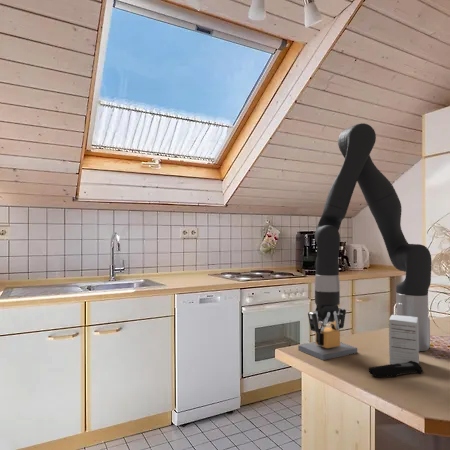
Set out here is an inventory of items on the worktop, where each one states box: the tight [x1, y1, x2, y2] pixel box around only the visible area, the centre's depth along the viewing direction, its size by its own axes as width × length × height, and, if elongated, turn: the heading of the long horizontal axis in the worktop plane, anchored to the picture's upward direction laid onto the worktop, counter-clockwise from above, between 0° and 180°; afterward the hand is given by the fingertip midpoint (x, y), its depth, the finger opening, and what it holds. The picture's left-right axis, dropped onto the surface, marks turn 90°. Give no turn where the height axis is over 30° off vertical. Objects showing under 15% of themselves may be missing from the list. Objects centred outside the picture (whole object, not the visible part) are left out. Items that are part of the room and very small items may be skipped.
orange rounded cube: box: [314, 326, 341, 348], centre depth 118 cm, size 5×5×5 cm
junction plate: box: [297, 341, 358, 361], centre depth 118 cm, size 14×11×4 cm
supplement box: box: [388, 314, 420, 365], centre depth 108 cm, size 7×7×13 cm
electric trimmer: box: [368, 361, 424, 378], centre depth 99 cm, size 4×16×3 cm, turn 106°
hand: (327, 343), depth 118 cm, fingers closed on orange rounded cube, 5 cm apart
